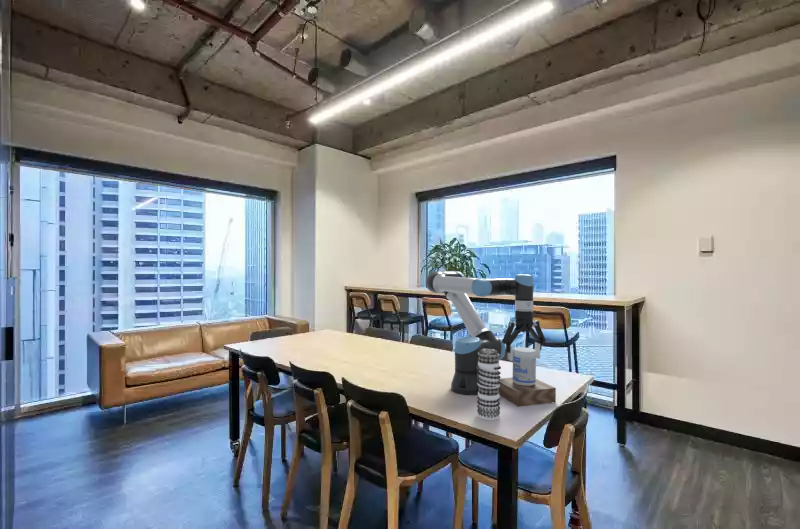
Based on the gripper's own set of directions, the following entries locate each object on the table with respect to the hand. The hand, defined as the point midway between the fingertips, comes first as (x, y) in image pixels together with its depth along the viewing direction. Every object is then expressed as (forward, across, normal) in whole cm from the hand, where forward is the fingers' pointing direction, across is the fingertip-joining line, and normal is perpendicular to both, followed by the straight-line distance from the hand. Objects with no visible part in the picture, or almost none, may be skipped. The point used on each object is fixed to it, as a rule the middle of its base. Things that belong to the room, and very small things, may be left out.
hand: (524, 359), depth 166 cm
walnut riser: (+16, 0, 0) cm, 17 cm away
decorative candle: (+17, -25, -14) cm, 33 cm away
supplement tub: (+11, 0, 0) cm, 11 cm away
